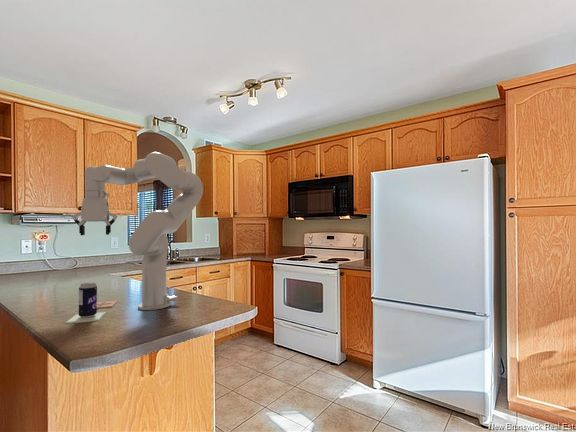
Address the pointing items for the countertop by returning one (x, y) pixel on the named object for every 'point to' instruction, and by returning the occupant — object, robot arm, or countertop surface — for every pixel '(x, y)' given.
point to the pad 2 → (106, 304)
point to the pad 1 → (78, 319)
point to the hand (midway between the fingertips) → (95, 234)
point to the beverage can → (87, 300)
